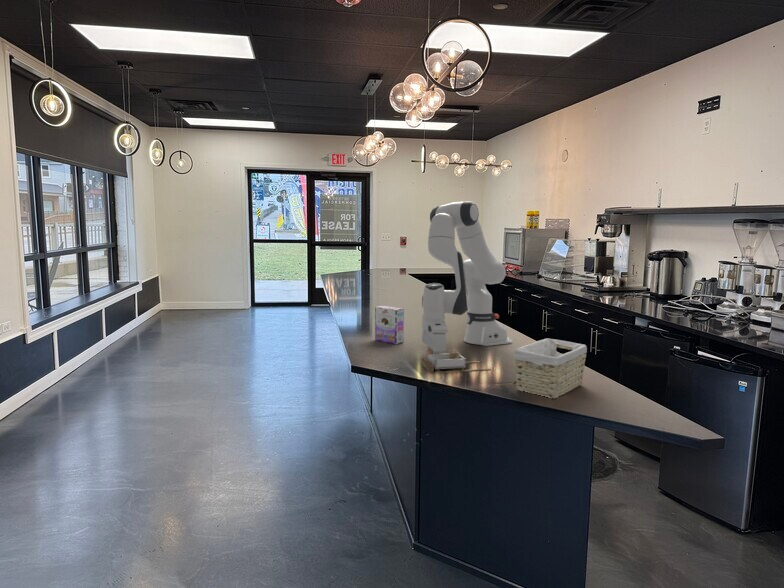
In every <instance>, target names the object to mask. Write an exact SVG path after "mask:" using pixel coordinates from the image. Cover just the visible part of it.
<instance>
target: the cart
mask: <svg viewBox="0 0 784 588" xmlns="http://www.w3.org/2000/svg"><path fill="white" fill-rule="evenodd" d="M466 360H467V359H466V358H465V356H462V355H461V354H460V353H459V359H449V352H448V353H446V352H443V353H439V354H428V361H429V362H430V363H431V364H433V365H434V370H435V371H436V372H439V371H441V370H446V369H447V370H448V369H458V370H463V368H466V366H467V364H466V362H467V361H466Z"/></svg>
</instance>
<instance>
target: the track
mask: <svg viewBox="0 0 784 588" xmlns="http://www.w3.org/2000/svg"><path fill="white" fill-rule="evenodd" d="M478 363H479V364H480V363H481V361H479V360H476V361H475V360H473V361H466V365H467V364H478ZM422 366H423V367H424V368H425V369H426V371H428V372H429V373H430V374H449V373H453V374H454V373H467V372H468V373H469V372H470V373H471V372H482V371H485V372H486V371H492V369H491V368H478V369H477V368H476V369H462V370H459V369H458V370H445V371H444V370H440V371H439V372H438V371H434V370H435V369H434V365H433V364H431V363H430V362H429V361H428V360H427V358H423V359H422Z"/></svg>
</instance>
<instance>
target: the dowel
mask: <svg viewBox="0 0 784 588" xmlns="http://www.w3.org/2000/svg"><path fill="white" fill-rule="evenodd" d="M448 353H449V359H459V354H460V352H459V351H449V352H448Z"/></svg>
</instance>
